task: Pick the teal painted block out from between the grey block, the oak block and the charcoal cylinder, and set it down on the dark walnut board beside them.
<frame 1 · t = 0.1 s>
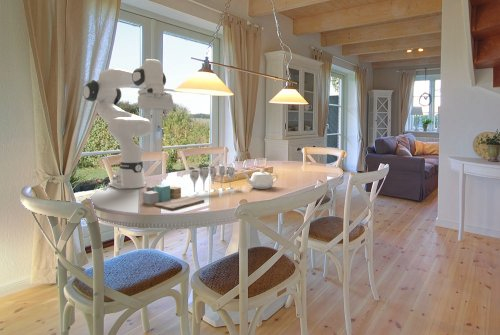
hand: (157, 118, 179), 39 cm above the table, tool pointing down, fingers open, 8 cm apart
grey block: (150, 202, 163), on the table
teapot: (260, 188, 202), on the table
walnut board: (179, 203, 161), on the table
oak block: (173, 197, 174), on the table
charcoal cylinder: (150, 197, 173), on the table
goblet set: (213, 191, 192), on the table
teal block: (162, 200, 168), on the table
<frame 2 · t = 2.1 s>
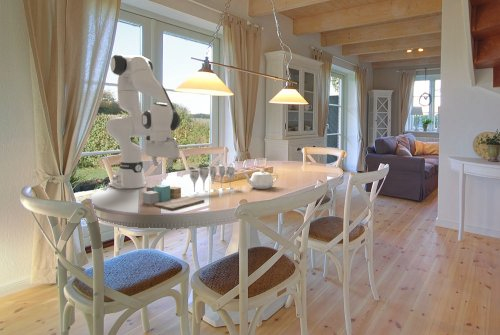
hand: (162, 166, 166), 16 cm above the table, tool pointing down, fingers open, 8 cm apart
nothing on the table moved.
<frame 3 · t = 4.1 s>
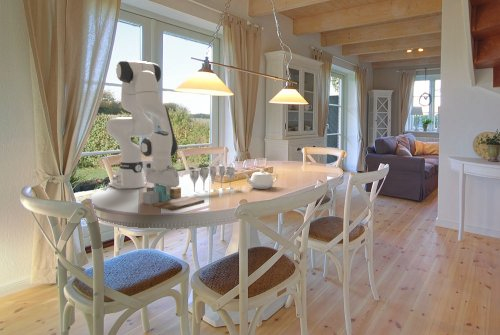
hand: (162, 193, 168), 3 cm above the table, tool pointing down, fingers closed on teal block, 5 cm apart
teal block: (162, 199, 168), on the table, touching gripper
everything else where it was.
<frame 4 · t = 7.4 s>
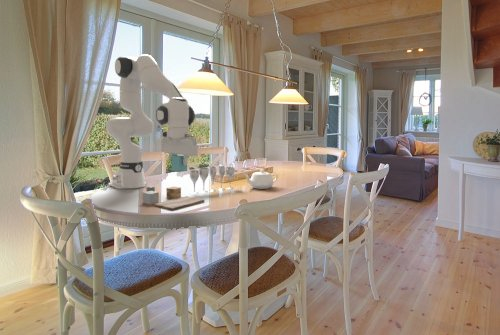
hand: (179, 164, 159), 19 cm above the table, tool pointing down, fingers closed on teal block, 5 cm apart
teal block: (179, 170, 159), point 16 cm above the table, touching gripper
everything else where it was.
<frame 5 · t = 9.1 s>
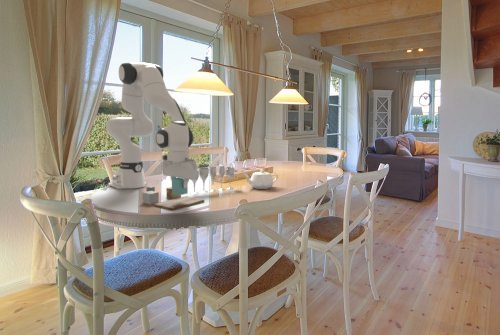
hand: (179, 186, 160), 8 cm above the table, tool pointing down, fingers closed on teal block, 5 cm apart
teal block: (179, 193, 160), point 5 cm above the table, touching gripper
everything else where it was.
when the fingers open (5 cm above the table, at t = 10.6 s): teal block stays where it is, resting on walnut board.
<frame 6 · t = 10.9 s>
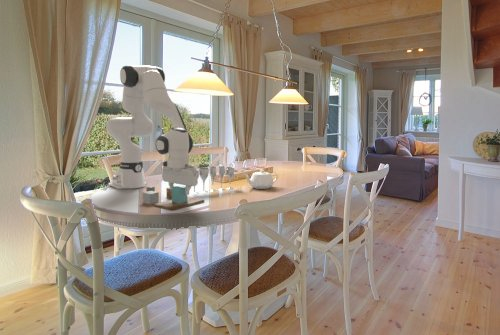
hand: (179, 193, 161), 5 cm above the table, tool pointing down, fingers open, 8 cm apart
teal block: (179, 201, 161), point 1 cm above the table, touching walnut board
everything else where it was.
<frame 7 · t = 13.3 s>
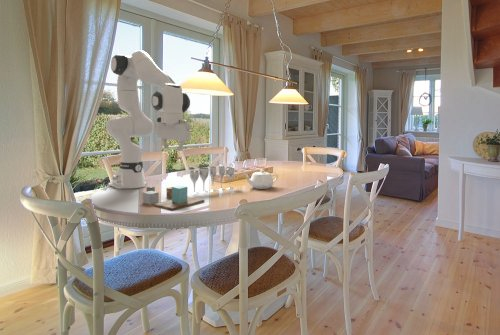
hand: (172, 149, 163), 25 cm above the table, tool pointing down, fingers open, 8 cm apart
nothing on the table moved.
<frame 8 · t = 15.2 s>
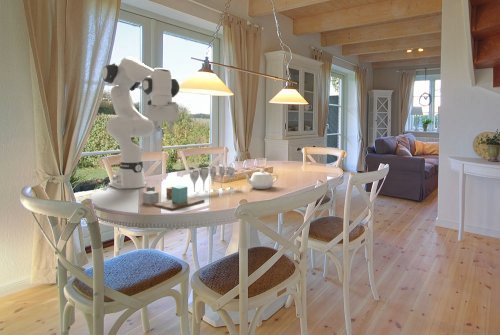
hand: (163, 130, 172), 33 cm above the table, tool pointing down, fingers open, 8 cm apart
nothing on the table moved.
at the end: teal block inside the target area on the walnut board (0.1 cm from its centre), point 1.0 cm above the walnut board's base; teal block tilted 0°; the gripper is holding nothing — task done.
